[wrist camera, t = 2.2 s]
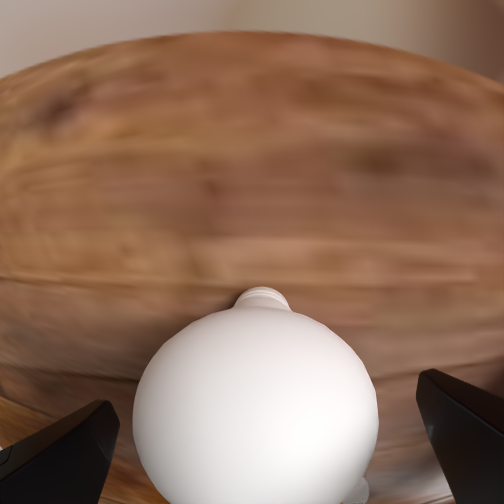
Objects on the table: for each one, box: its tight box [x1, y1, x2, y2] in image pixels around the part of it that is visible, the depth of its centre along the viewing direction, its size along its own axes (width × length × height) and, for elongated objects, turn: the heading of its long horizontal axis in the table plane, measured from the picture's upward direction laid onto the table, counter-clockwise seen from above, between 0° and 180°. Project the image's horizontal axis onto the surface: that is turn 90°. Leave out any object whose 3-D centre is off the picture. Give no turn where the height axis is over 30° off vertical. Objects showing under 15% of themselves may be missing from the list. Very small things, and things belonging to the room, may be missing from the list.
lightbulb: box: [132, 287, 379, 504], centre depth 10 cm, size 6×6×11 cm
